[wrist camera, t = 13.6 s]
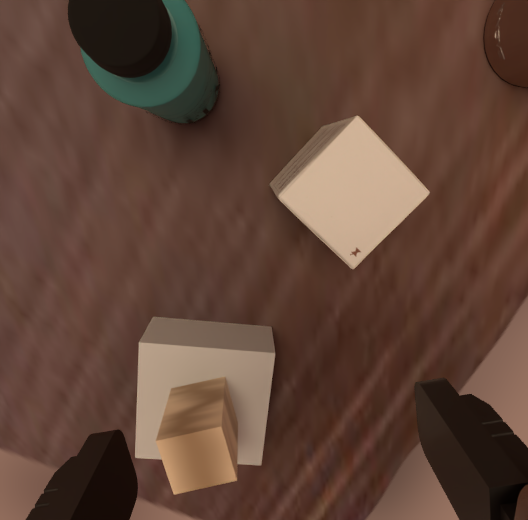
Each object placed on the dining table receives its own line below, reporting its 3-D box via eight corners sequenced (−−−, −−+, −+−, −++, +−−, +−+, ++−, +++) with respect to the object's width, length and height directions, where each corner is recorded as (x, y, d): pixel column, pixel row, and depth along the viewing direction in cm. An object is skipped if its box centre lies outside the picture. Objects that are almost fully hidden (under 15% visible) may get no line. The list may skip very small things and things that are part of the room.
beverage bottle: (194, 141, 38) (140, 134, 18) (131, 93, 36) (1, 33, 17) (236, 78, 36) (226, 1, 17) (172, 27, 35) (83, -119, 16)
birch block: (225, 376, 38) (221, 426, 31) (237, 422, 39) (237, 480, 32) (171, 388, 38) (155, 441, 31) (185, 434, 39) (173, 494, 32)
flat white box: (271, 325, 43) (275, 353, 37) (259, 425, 46) (261, 465, 40) (153, 315, 42) (138, 342, 36) (149, 417, 45) (135, 457, 39)
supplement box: (376, 180, 39) (436, 195, 27) (320, 236, 40) (352, 274, 28) (322, 122, 38) (359, 111, 25) (265, 182, 39) (274, 198, 27)
